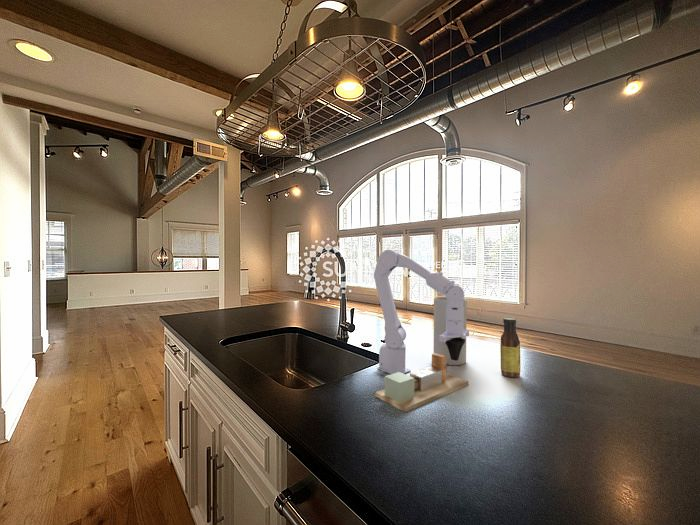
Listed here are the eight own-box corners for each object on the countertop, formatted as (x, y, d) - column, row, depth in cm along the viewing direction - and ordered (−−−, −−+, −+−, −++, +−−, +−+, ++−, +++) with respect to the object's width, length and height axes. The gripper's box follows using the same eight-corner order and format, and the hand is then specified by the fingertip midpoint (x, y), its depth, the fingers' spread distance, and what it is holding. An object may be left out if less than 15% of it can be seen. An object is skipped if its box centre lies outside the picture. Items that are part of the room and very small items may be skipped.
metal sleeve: (409, 387, 94) (409, 373, 94) (430, 379, 101) (430, 366, 101) (421, 392, 91) (421, 377, 91) (441, 384, 97) (441, 370, 97)
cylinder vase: (427, 357, 128) (428, 297, 128) (453, 354, 131) (453, 296, 131) (445, 367, 116) (446, 301, 116) (473, 364, 120) (473, 300, 119)
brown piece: (394, 392, 90) (394, 364, 90) (435, 377, 102) (435, 353, 102) (404, 396, 87) (404, 368, 87) (445, 380, 99) (446, 356, 99)
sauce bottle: (524, 378, 105) (524, 320, 105) (505, 378, 105) (506, 320, 105) (514, 371, 112) (514, 317, 112) (496, 371, 112) (497, 317, 112)
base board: (374, 396, 91) (375, 392, 91) (437, 373, 109) (437, 370, 109) (405, 412, 81) (405, 407, 81) (468, 384, 100) (468, 381, 100)
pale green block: (384, 394, 89) (384, 376, 89) (398, 389, 93) (399, 371, 93) (399, 402, 84) (399, 382, 84) (414, 396, 88) (414, 377, 88)
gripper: (452, 324, 97) (452, 367, 97) (477, 319, 106) (476, 358, 106) (434, 321, 103) (433, 361, 103) (459, 316, 112) (458, 353, 112)
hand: (454, 359), depth 105 cm, fingers closed
